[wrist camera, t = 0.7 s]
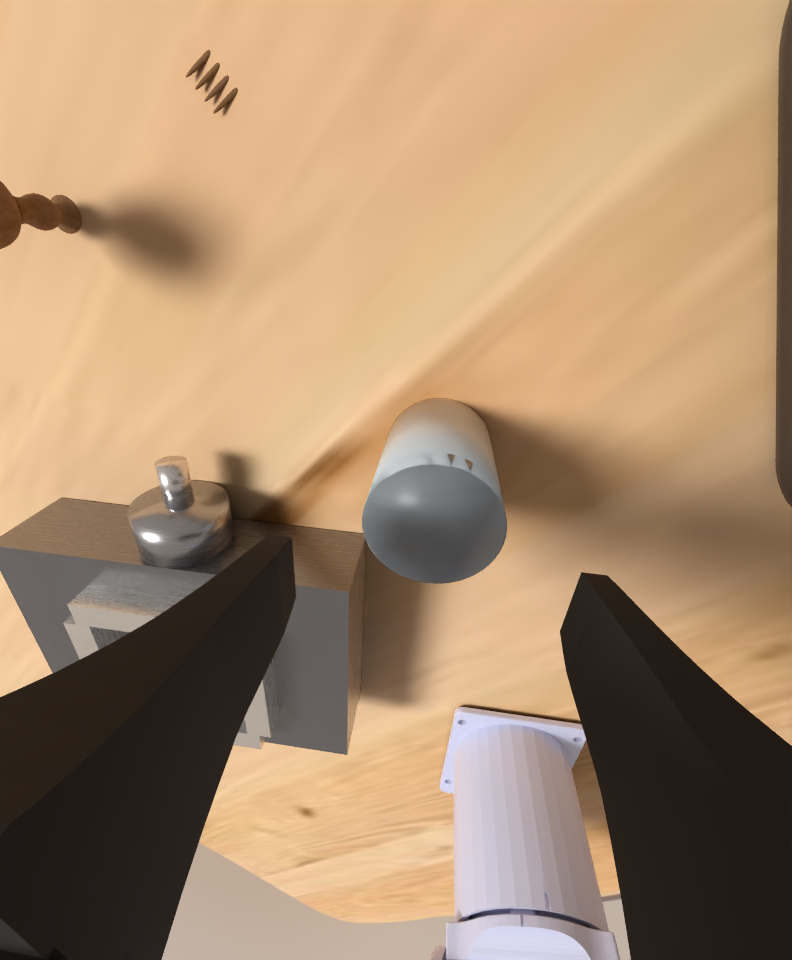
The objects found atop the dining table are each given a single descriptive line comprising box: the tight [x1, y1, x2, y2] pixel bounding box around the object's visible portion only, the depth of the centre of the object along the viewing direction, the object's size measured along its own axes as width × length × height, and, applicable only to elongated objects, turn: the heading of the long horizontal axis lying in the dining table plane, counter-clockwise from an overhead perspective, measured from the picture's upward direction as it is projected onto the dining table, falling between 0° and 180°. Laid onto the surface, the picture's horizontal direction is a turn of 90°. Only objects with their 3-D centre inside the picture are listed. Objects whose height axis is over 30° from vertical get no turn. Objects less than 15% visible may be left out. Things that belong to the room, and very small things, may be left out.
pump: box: [362, 398, 507, 583], centre depth 16 cm, size 4×4×6 cm
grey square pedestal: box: [0, 456, 366, 755], centre depth 21 cm, size 16×16×5 cm
